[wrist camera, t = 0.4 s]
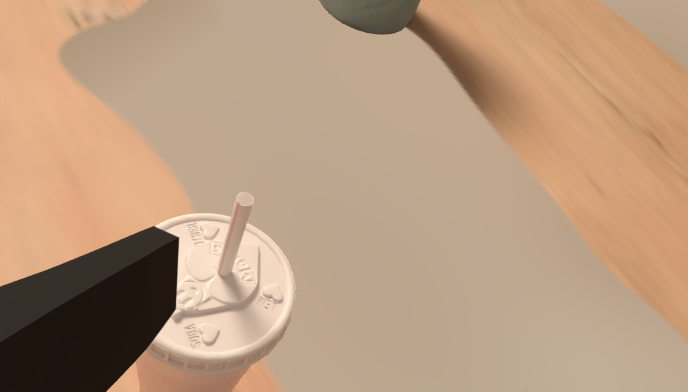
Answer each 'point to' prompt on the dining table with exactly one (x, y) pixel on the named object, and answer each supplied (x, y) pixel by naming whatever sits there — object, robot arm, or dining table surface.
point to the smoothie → (219, 304)
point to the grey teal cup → (373, 14)
